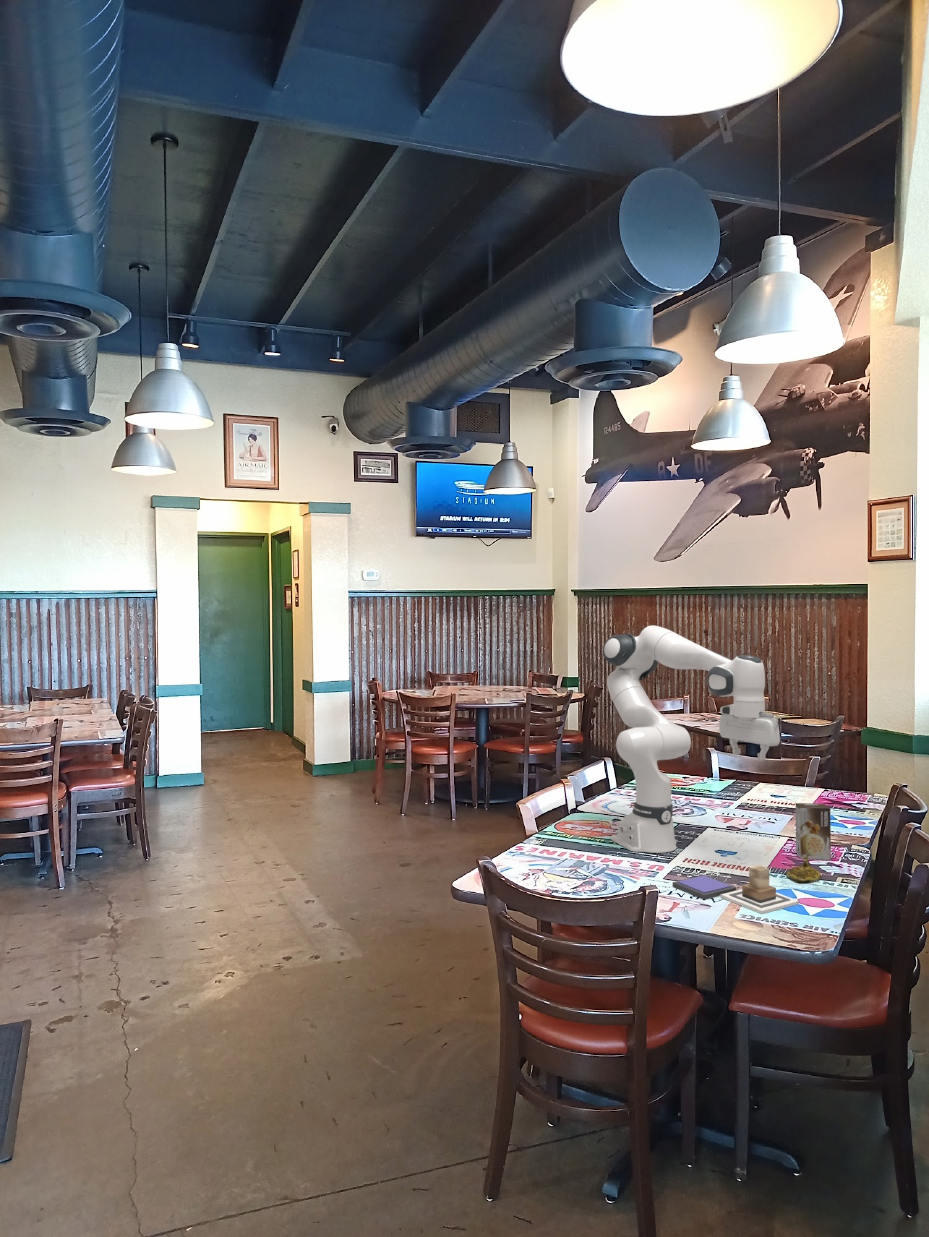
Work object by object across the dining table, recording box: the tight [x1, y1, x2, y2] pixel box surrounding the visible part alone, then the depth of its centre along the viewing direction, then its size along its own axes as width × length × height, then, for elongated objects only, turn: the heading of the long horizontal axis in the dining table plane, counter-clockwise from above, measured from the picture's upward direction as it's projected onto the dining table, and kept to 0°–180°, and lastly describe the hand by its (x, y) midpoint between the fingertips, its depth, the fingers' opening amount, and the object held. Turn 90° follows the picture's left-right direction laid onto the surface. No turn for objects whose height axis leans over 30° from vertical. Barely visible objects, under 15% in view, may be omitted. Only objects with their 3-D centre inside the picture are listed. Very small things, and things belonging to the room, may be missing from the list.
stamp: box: [741, 864, 777, 903], centre depth 232 cm, size 6×6×8 cm
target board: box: [720, 889, 800, 915], centre depth 232 cm, size 14×14×1 cm
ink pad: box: [672, 874, 737, 900], centre depth 241 cm, size 12×12×2 cm
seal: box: [785, 857, 822, 884], centre depth 251 cm, size 9×5×15 cm
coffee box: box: [795, 802, 832, 861], centre depth 269 cm, size 9×6×16 cm
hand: (748, 756), depth 258 cm, fingers open, 8 cm apart
